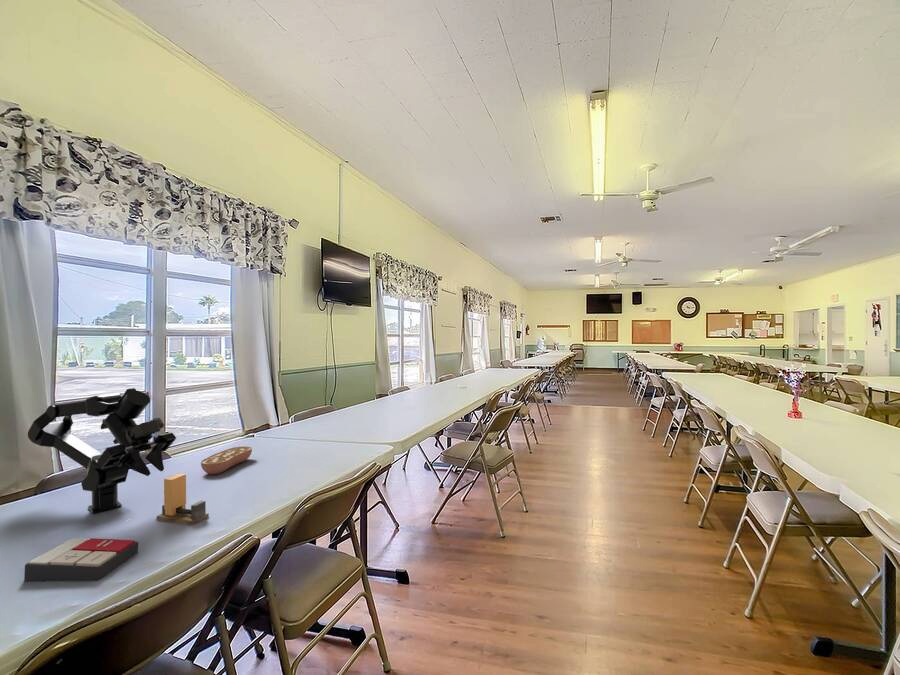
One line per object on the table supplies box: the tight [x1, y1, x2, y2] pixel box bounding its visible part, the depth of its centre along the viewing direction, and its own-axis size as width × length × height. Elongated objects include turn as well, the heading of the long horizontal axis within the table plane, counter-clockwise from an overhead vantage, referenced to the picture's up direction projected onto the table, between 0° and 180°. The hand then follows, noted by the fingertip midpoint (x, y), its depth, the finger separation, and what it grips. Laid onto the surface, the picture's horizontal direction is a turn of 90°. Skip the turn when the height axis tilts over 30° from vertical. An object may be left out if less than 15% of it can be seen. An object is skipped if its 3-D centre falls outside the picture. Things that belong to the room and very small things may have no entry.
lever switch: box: [156, 500, 210, 526], centre depth 113 cm, size 12×5×5 cm, turn 74°
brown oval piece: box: [200, 446, 253, 475], centre depth 157 cm, size 23×10×5 cm, turn 174°
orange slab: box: [163, 473, 187, 516], centre depth 114 cm, size 2×4×10 cm, turn 164°
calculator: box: [23, 537, 139, 583], centre depth 90 cm, size 11×4×15 cm
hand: (156, 472), depth 115 cm, fingers open, 4 cm apart
